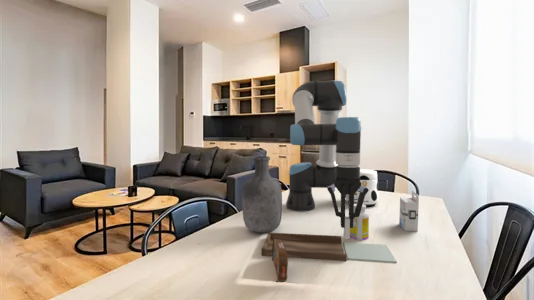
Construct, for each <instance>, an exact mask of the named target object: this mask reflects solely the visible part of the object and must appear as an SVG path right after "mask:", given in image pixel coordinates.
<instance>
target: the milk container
mask: <svg viewBox="0 0 534 300" xmlns="http://www.w3.org/2000/svg"><path fill="white" fill-rule="evenodd" d="M360 182H361V185H363V186H364V187H367V188H368V190H369V191H368V192H367V194H366V195H365V198H364V201H363V204H364V205H366V207H368V206H369V207H370V206H375V205H376V204H378V202H379V198H380V193H379V190H378V171H376V170H372V169H361V168H360ZM359 194H360V188H359V189H358V190H357V192H356V193H355V194H354V204H357V201H358V198H359ZM345 201H347V203H349V195H348V194H347V195H346V199H345Z"/></svg>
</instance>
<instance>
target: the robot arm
mask: <svg viewBox="0 0 534 300" xmlns="http://www.w3.org/2000/svg"><path fill="white" fill-rule="evenodd" d="M291 99H292V101H291V102H292V105H293V107H294V124H290V133H289V134H290V135H289V138H290V144H291V145H293V146H300V147H301V146H302V147H303V146H319V155H318V156H319V157H318V160H316V162H315V164H314V165H313V163H312V162H307V161H306V162H299V163H298V162H297V163H294V164H292V165H290V166H289V170H288V171H289V173H288V175H289V179H288V181H289V192H288V196H287V199H286V203H285V206H286V208H287V210H288V209H289V210H290V209H291V210H290V211H298V212H306V211H307V212H308V211H312V210H314V209H316V203H315V199H314V197H313V196H314V195H313V193H312V189H314V188H316V189H318V188H320V189H326V190H327V192H328V193H329V194H330V198H331V201H332V205H333V209H334V214H335V216H336V217H338V218H340V227H341V228H342V229H343V237H344V239H346V240H350V238H351V237H350V228H353V219H354V218H355V217H359V215H360V212H361V208H362V205H363V201H364V198H365V195H366V194H367V192H368V191H369V190H368V188H367V187H364V186H363V185H361V182H360V169H361V167H360V165H361V139H362V137H361V135H362V133H361V132H362V126H361V124H362V123H361V122H362V121H361V118H360V117H357V116H346V117H344V116H343V117H341V116H339V114H340V113H341V112H342V111H343V107H345V106H346V105H347V91H346V86H345V83H344V82H343V81H341V80H333V79H332V80H317V81H315V80H311V81H307V82H304V83H302V84H301V85H299V86H298V87H297V88H296V89H295V91H294V92H293V94H292V98H291ZM313 107H317V111H318V112H319V114H320V122H319V123H316V121H315V120H316V119H315V114H314V109H313ZM359 188H360V194H359V198H358V201H357V205H356V209H355V212H354V194H355V193H356V192H357V190H358V189H359ZM336 189H337V190H336ZM335 191H338V193H340V211H339V206H338V202H337V198H336V195H335ZM347 194H348V195H349V202H348V215H347V216H346V195H347Z"/></svg>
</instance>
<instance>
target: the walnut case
mask: <svg viewBox="0 0 534 300" xmlns="http://www.w3.org/2000/svg"><path fill="white" fill-rule="evenodd" d="M274 239H279V240H282V241H283V243H284V246H285V248H286V251H287V256H288V259H305V260H306V259H307V260H321V261H323V260H324V261H338V262H347V260H348V258H347V254H346V252H345V249H344V245H343V243H342V236H341V235H325V234H323V235H322V234H306V233H305V234H304V233H286V232H267V235H266V238H265V240H264V243H263V245H262V247H261V250H260V251H261V252H260V253H261V256H262V257H272V244H273V240H274Z"/></svg>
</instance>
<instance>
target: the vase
mask: <svg viewBox="0 0 534 300" xmlns="http://www.w3.org/2000/svg"><path fill="white" fill-rule="evenodd" d="M252 157H253V158H252V160H253V161H254V173H253V176H252V177H251V178H250V179H248V180H245V182H244V183H243V186H242V191H241V192H242V194H241V197H242V198H241V200H242V201H241V203H242V204H241V205H242V206H241V207H242V217H243V218H242V219H243V223H244V225H245V227H246V228H247V229H248V230H249V231H252V232H255V233H261V234H262V233H263V234H264V233H271V232H273V231H274V230H276V229H278V228H279V226H280V225H281V222H282V215H283V214H282V212H283V193H282V185H281V183H280V182H279V181H278V180H277V179H275V178H273V177H272V176H271V174H270V171H269V169H270V168H269V166H270V164H269V163H270V160H271V157H270V156H269V155H268V156H266V155H260V156H252Z"/></svg>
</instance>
